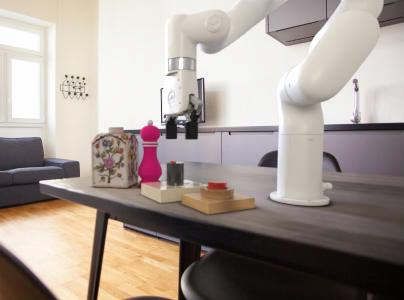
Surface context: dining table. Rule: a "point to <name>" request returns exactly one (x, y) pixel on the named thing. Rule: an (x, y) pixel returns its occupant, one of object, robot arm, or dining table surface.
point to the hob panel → (169, 190)
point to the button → (217, 184)
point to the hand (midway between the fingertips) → (180, 139)
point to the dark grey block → (175, 173)
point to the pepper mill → (150, 154)
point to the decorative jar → (114, 159)
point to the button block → (217, 200)
